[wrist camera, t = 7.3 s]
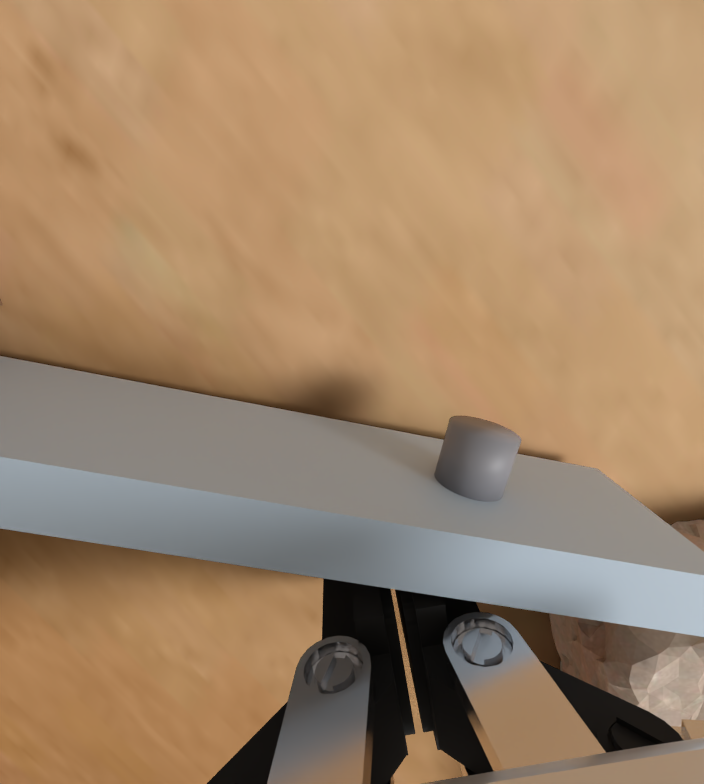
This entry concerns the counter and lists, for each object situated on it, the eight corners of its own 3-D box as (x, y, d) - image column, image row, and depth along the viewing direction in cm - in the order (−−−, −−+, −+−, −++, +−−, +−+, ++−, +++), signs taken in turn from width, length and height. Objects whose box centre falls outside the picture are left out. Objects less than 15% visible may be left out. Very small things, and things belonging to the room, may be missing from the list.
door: (-71, 386, 11) (-525, 524, 5) (-75, 286, 10) (-594, 317, 5) (575, 502, 13) (783, 707, 7) (606, 423, 12) (865, 573, 6)
